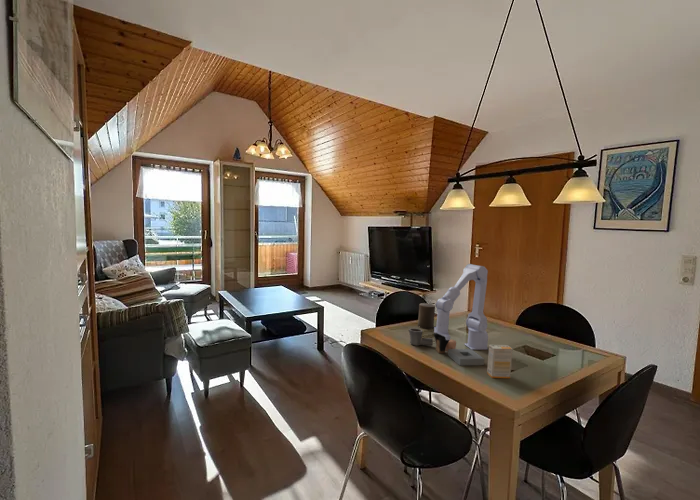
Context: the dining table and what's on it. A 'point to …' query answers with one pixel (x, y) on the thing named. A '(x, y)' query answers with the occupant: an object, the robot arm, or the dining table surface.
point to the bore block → (465, 357)
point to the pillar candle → (426, 315)
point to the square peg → (438, 347)
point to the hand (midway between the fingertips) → (440, 349)
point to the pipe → (419, 338)
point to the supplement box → (499, 361)
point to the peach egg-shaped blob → (451, 345)
